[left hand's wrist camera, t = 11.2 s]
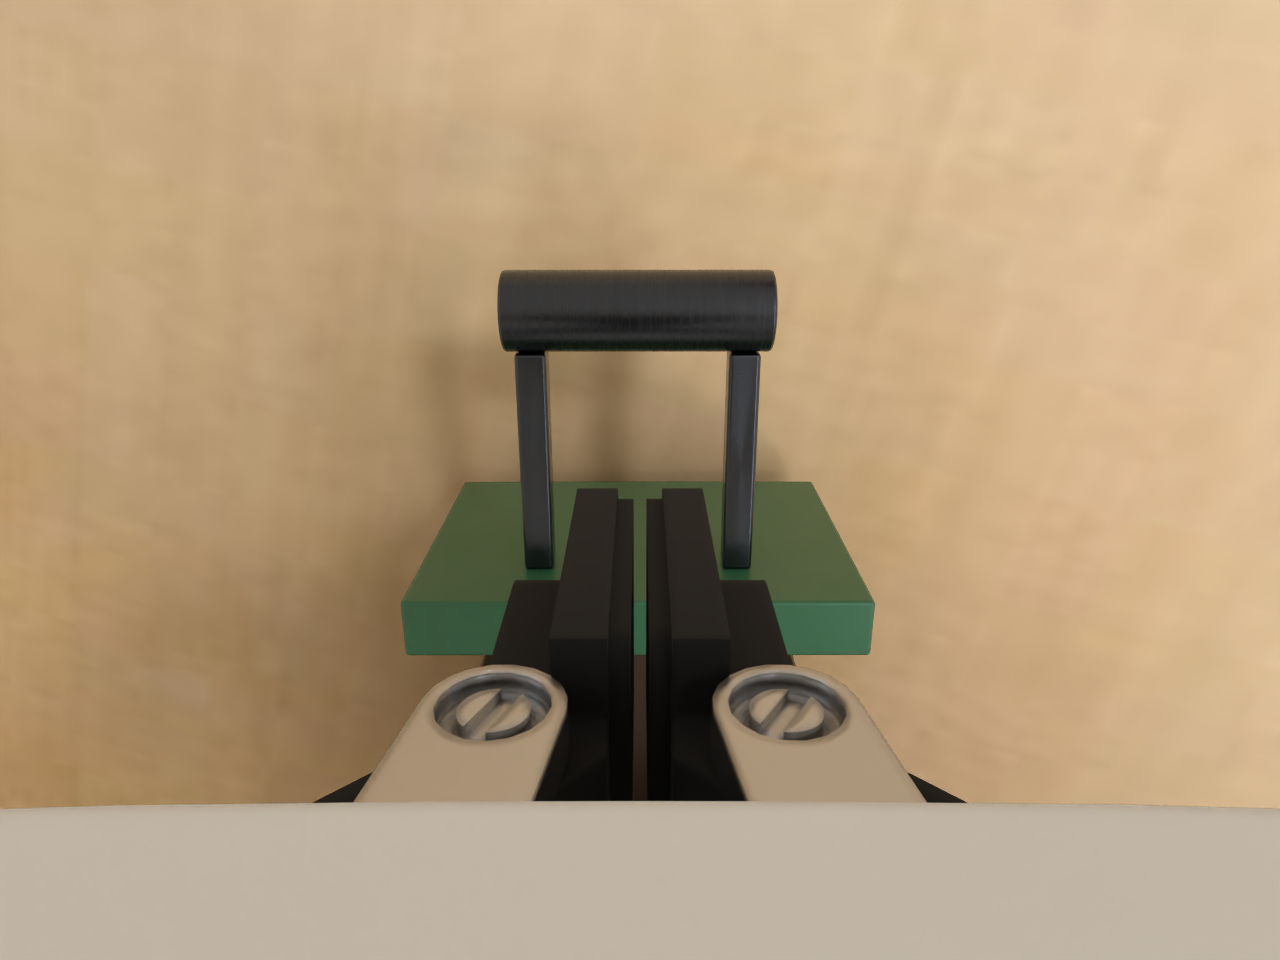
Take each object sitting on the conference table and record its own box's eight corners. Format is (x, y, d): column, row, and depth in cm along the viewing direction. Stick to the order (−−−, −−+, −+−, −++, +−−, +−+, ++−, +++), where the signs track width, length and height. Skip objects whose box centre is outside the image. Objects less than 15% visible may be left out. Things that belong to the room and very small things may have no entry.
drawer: (447, 245, 21) (365, 282, 15) (828, 244, 21) (909, 282, 15) (496, 915, 29) (455, 1133, 22) (781, 914, 29) (822, 1133, 22)
